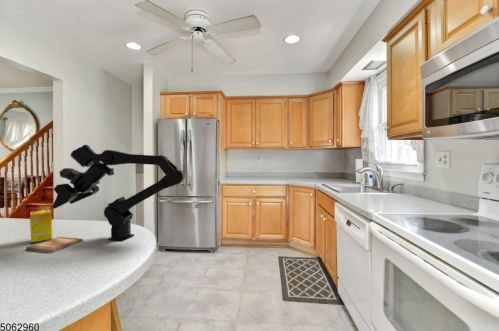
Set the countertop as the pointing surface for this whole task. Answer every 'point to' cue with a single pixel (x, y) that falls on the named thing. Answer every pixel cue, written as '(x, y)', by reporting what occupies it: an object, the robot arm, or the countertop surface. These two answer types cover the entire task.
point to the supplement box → (40, 226)
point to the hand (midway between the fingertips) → (62, 205)
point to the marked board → (54, 244)
